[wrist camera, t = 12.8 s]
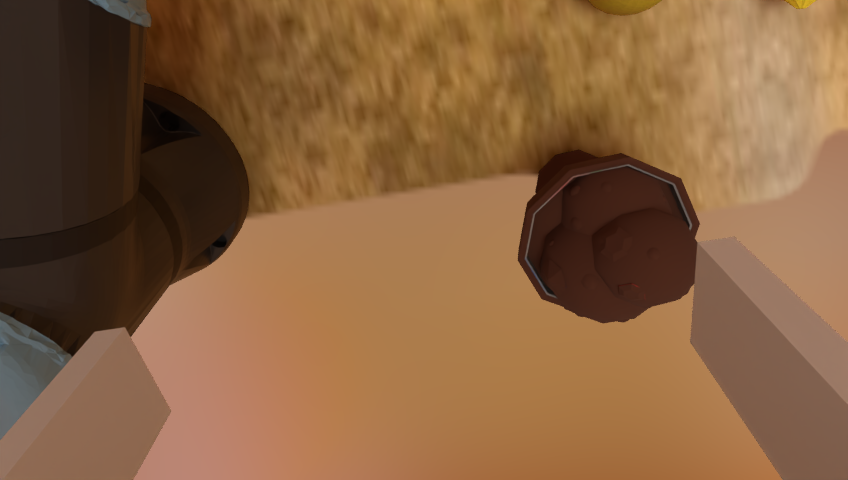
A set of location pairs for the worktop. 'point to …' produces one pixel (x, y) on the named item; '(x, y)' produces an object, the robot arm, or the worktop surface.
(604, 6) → the lemon
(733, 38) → the worktop surface
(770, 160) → the worktop surface
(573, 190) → the ice cream bowl
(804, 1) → the lemon
